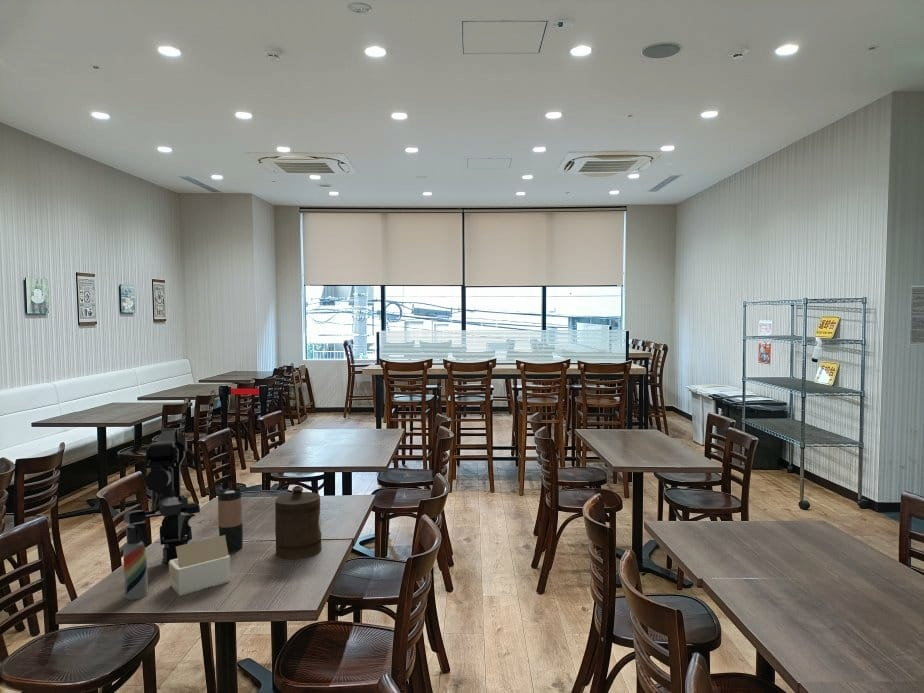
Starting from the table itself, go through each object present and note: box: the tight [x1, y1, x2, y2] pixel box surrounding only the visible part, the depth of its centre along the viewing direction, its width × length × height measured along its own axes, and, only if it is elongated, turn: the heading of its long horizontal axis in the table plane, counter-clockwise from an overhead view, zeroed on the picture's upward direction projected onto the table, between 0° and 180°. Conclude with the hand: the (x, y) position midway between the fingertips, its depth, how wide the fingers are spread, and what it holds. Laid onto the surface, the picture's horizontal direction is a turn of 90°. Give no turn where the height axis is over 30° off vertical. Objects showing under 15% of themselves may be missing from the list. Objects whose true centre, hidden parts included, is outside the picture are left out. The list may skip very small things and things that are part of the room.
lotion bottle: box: [122, 525, 149, 601], centre depth 171 cm, size 6×6×20 cm
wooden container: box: [274, 485, 323, 560], centre depth 202 cm, size 15×15×22 cm
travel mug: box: [217, 487, 244, 553], centre depth 206 cm, size 8×8×20 cm
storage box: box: [168, 554, 231, 597], centre depth 178 cm, size 10×15×8 cm, turn 130°
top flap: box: [176, 535, 230, 568], centre depth 175 cm, size 6×14×1 cm
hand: (163, 543), depth 171 cm, fingers open, 9 cm apart
